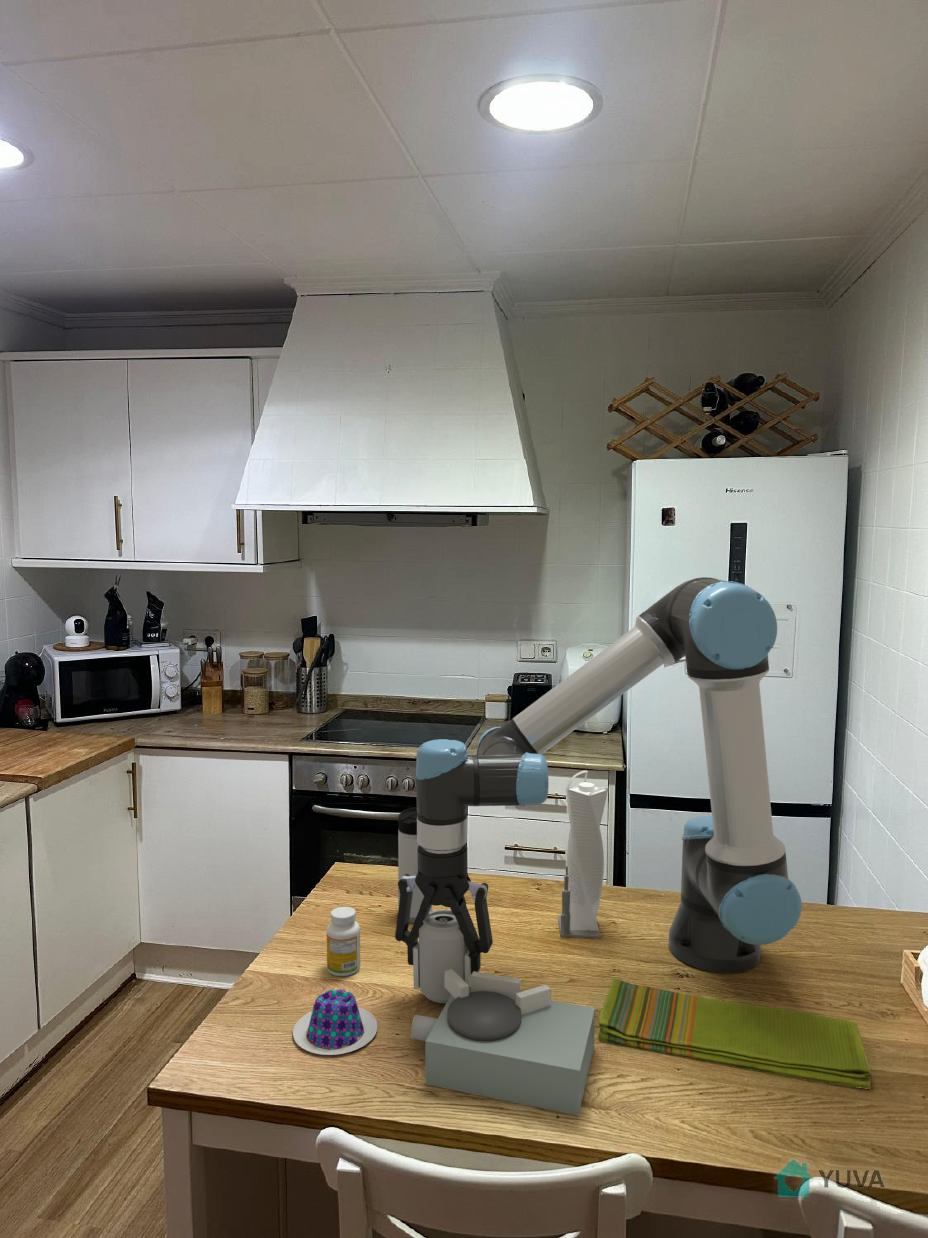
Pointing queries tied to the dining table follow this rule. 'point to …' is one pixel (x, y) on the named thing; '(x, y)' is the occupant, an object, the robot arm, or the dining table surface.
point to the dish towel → (735, 1034)
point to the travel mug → (409, 856)
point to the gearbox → (508, 1043)
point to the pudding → (335, 1024)
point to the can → (440, 953)
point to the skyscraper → (583, 861)
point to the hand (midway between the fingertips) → (444, 988)
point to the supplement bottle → (343, 942)
